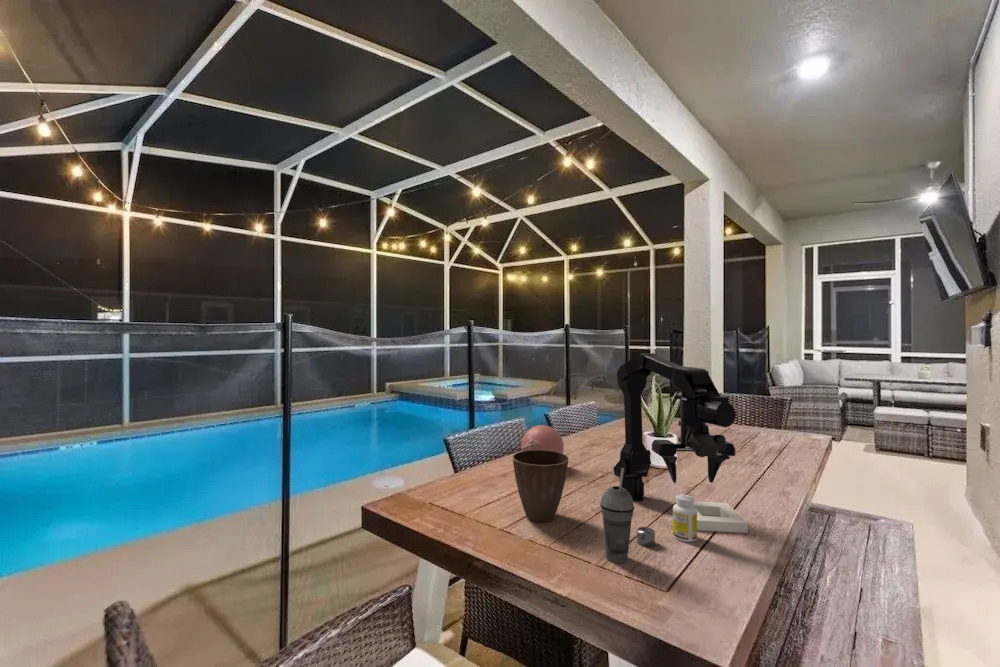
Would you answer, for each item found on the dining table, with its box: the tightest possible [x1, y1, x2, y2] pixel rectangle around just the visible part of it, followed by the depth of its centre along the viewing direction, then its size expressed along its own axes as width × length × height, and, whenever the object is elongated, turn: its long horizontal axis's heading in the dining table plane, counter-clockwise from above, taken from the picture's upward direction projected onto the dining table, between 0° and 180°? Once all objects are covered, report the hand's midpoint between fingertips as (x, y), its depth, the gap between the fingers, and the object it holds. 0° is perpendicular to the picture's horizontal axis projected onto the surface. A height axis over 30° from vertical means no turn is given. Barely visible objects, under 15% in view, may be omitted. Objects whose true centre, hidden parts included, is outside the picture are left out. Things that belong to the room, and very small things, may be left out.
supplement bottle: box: [672, 494, 698, 543], centre depth 108 cm, size 5×5×10 cm
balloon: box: [520, 424, 565, 454], centre depth 161 cm, size 15×20×15 cm
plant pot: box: [512, 450, 569, 523], centre depth 120 cm, size 15×15×16 cm
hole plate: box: [693, 500, 749, 534], centre depth 118 cm, size 13×13×2 cm
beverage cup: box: [600, 468, 635, 564], centre depth 98 cm, size 7×7×20 cm
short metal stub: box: [636, 526, 656, 548], centre depth 105 cm, size 4×4×3 cm
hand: (692, 482), depth 111 cm, fingers open, 9 cm apart
